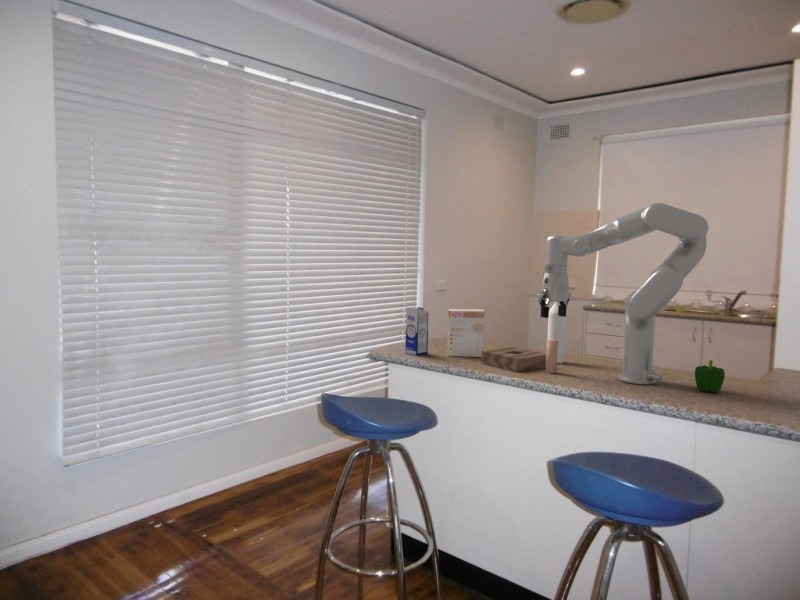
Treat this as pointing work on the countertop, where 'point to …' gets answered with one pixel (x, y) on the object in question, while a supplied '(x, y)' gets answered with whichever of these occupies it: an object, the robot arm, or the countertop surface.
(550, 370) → the peg
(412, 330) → the milk carton
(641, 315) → the robot arm
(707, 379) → the bell pepper
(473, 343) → the coffeecake box
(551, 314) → the water bottle
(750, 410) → the countertop surface
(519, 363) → the socket block
